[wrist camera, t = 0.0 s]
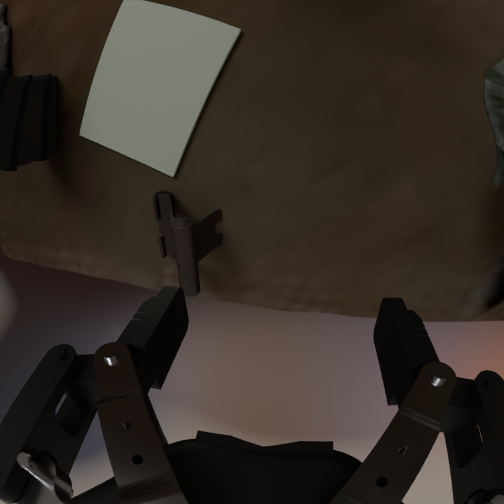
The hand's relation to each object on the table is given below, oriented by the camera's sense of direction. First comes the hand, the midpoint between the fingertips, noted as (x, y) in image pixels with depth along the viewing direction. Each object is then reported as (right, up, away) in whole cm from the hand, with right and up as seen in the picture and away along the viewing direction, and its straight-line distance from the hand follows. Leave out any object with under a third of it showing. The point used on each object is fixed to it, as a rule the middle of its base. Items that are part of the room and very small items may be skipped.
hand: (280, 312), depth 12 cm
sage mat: (-12, +21, +15) cm, 28 cm away
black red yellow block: (-28, +22, +17) cm, 39 cm away
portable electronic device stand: (-9, +6, +25) cm, 27 cm away
